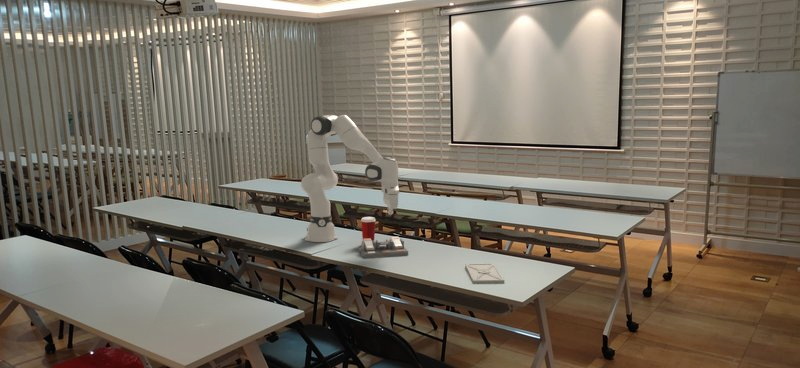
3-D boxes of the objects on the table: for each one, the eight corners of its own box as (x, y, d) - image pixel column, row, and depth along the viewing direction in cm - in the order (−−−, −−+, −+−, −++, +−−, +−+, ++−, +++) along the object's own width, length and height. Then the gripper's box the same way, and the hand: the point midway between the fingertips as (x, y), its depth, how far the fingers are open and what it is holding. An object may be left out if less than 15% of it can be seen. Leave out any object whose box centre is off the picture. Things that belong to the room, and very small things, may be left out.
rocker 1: (363, 240, 309) (363, 238, 309) (370, 240, 310) (370, 238, 310) (366, 250, 301) (366, 248, 300) (374, 250, 301) (374, 247, 301)
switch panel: (359, 251, 310) (359, 240, 309) (401, 248, 315) (401, 237, 314) (364, 257, 296) (364, 246, 295) (408, 254, 302) (408, 244, 301)
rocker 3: (390, 238, 313) (391, 236, 312) (398, 238, 314) (398, 236, 313) (395, 248, 304) (395, 246, 303) (402, 248, 305) (402, 246, 304)
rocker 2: (377, 245, 311) (377, 242, 311) (384, 244, 312) (384, 242, 312) (380, 244, 302) (380, 241, 302) (388, 243, 302) (388, 241, 303)
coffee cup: (376, 243, 326) (376, 216, 324) (374, 246, 318) (374, 219, 316) (362, 242, 327) (361, 216, 325) (359, 246, 319) (359, 219, 317)
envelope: (473, 284, 256) (504, 284, 256) (473, 279, 255) (504, 279, 256) (465, 267, 279) (493, 267, 280) (465, 263, 279) (493, 263, 279)
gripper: (380, 185, 315) (380, 211, 317) (387, 191, 295) (388, 218, 297) (391, 185, 317) (392, 210, 318) (400, 190, 297) (400, 217, 299)
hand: (390, 214), depth 308 cm, fingers closed
